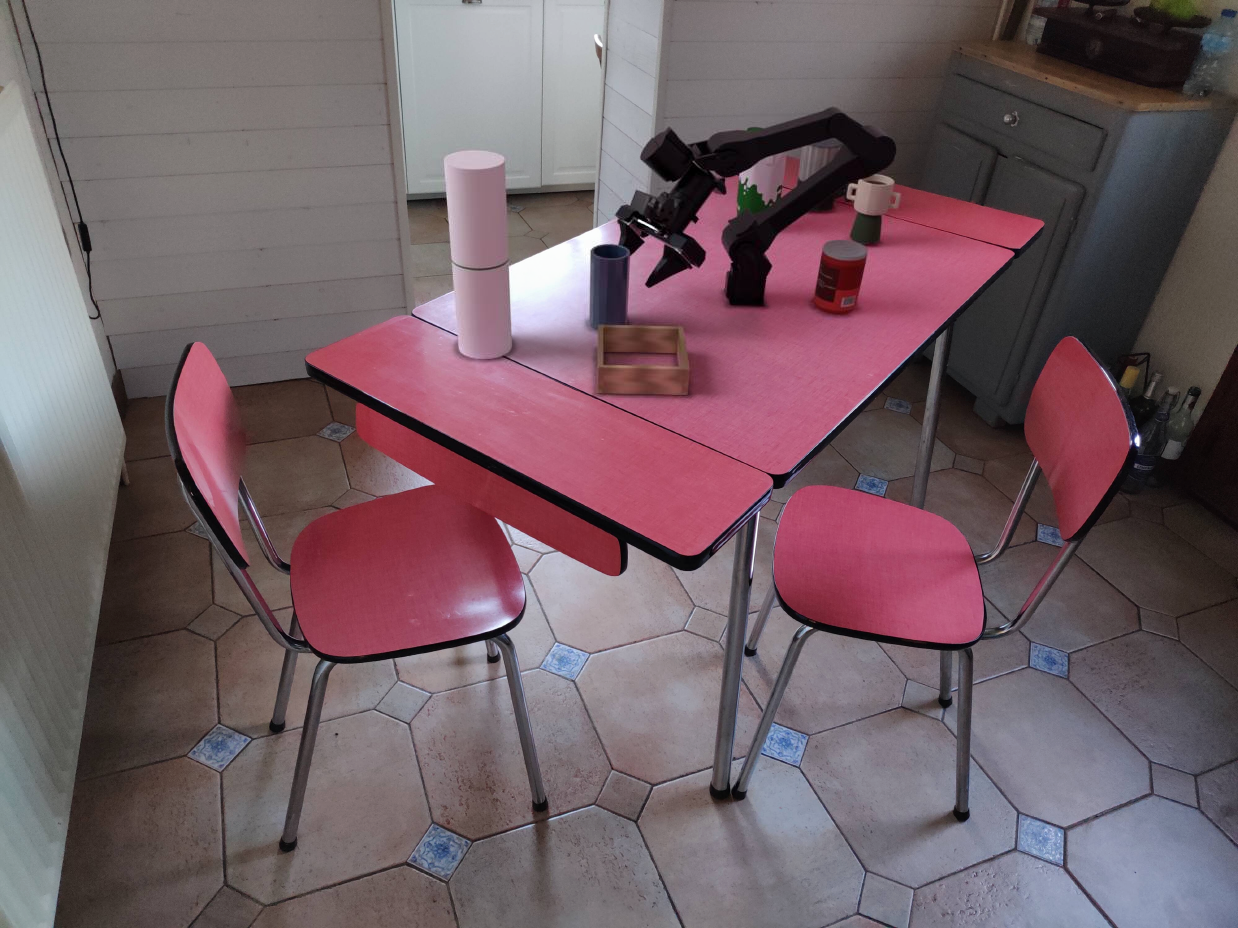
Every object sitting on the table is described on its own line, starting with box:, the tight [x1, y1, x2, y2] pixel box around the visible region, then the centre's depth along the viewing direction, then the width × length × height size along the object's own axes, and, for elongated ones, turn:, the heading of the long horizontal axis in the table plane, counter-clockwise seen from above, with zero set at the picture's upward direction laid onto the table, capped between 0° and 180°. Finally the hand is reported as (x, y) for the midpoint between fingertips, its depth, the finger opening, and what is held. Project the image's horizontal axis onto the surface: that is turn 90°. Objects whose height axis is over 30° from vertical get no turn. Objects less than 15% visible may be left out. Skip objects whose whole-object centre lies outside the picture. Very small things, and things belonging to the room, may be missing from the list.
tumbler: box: [588, 243, 631, 331], centre depth 148 cm, size 6×6×13 cm
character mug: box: [847, 173, 902, 245], centre depth 182 cm, size 11×7×13 cm, turn 61°
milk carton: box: [736, 126, 788, 217], centre depth 185 cm, size 9×9×20 cm
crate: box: [596, 324, 691, 396], centre depth 138 cm, size 14×14×4 cm
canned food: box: [813, 239, 869, 316], centre depth 157 cm, size 8×8×11 cm
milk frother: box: [796, 138, 859, 213], centre depth 200 cm, size 14×16×15 cm
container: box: [443, 149, 513, 360], centre depth 135 cm, size 9×9×30 cm
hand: (630, 276), depth 149 cm, fingers open, 9 cm apart
